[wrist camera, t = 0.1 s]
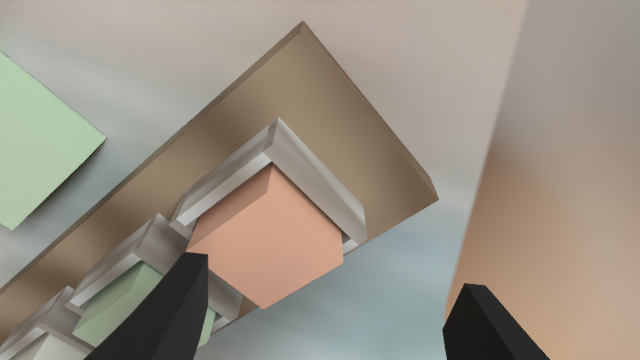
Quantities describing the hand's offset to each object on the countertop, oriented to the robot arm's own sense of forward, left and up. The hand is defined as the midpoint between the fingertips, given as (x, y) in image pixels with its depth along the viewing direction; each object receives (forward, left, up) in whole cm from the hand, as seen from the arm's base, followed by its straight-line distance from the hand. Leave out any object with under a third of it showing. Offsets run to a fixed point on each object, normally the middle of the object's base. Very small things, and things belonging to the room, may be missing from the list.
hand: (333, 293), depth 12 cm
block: (-1, +15, -10) cm, 18 cm away
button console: (-8, +8, -10) cm, 15 cm away
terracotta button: (-3, +2, -7) cm, 8 cm away
